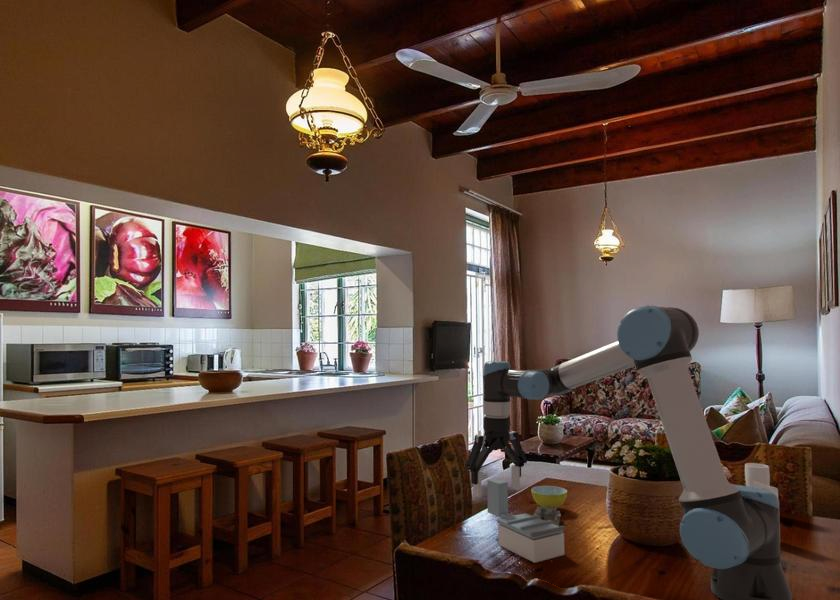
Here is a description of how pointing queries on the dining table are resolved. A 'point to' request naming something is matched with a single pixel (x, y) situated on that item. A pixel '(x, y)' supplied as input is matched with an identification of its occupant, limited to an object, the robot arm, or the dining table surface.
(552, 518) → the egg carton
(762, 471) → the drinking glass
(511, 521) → the grey stepped piece
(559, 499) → the bowl
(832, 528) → the dining table surface
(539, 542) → the tub
